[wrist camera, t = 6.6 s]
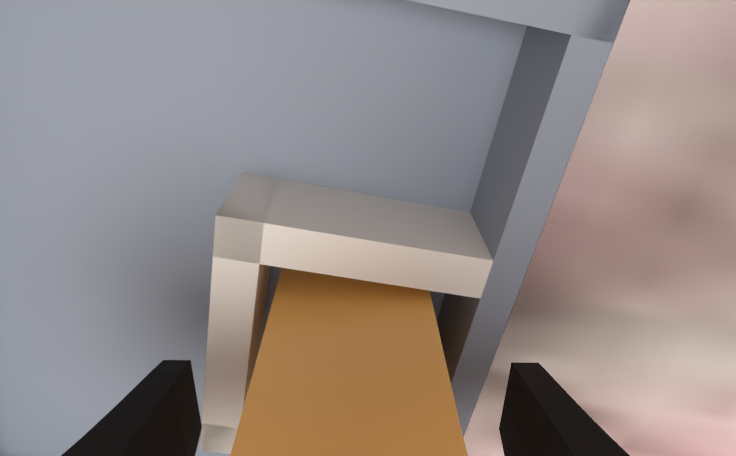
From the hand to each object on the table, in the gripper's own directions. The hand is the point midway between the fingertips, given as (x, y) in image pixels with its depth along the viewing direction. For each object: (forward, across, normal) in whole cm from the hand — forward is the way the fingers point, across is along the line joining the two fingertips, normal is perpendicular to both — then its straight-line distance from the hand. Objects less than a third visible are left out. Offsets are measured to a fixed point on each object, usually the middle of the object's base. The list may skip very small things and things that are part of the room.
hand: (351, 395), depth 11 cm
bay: (+4, +4, -1) cm, 6 cm away
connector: (+3, 0, 0) cm, 4 cm away
